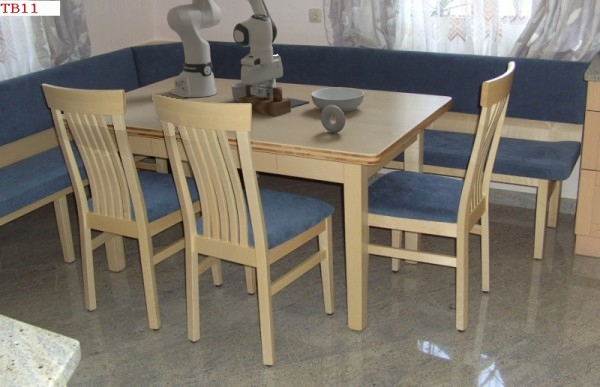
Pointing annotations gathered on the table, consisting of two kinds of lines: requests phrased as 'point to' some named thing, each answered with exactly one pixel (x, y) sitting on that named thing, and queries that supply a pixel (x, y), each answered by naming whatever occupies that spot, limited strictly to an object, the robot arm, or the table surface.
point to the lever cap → (263, 91)
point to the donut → (338, 115)
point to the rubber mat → (297, 102)
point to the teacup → (238, 90)
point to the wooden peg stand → (267, 102)
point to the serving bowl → (338, 98)
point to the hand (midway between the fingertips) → (263, 92)
